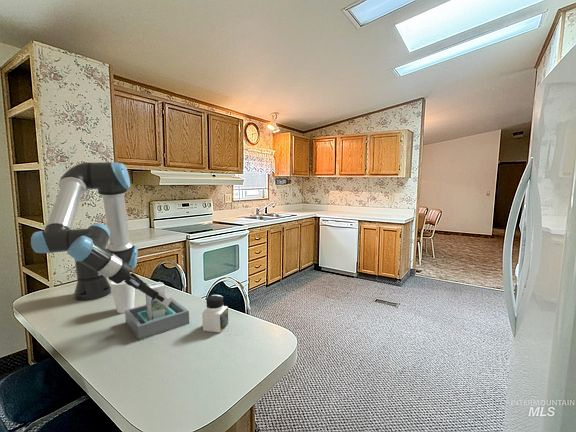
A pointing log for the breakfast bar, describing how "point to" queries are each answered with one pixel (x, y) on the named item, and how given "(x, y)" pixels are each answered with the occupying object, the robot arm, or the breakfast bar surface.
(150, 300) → the syrup box
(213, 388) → the breakfast bar surface
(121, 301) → the foam cup
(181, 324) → the walled box
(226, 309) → the medicine bottle
